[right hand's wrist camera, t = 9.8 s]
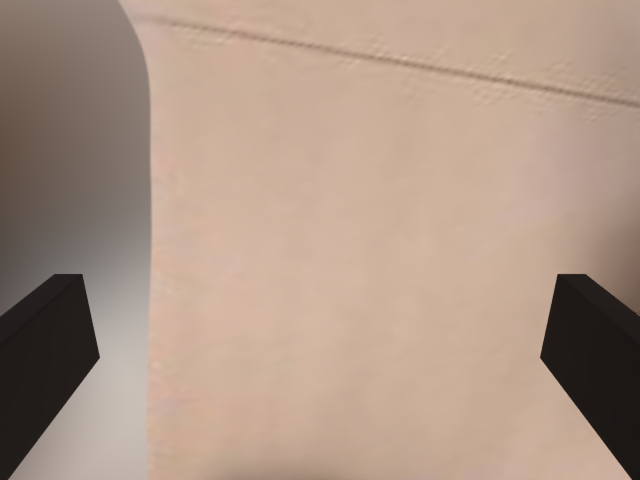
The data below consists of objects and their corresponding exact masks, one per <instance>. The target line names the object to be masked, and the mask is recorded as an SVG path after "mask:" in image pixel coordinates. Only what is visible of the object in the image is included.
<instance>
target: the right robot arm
mask: <svg viewBox="0 0 640 480" xmlns="http://www.w3.org/2000/svg"><path fill="white" fill-rule="evenodd" d="M99 358H100V356H99V351H98V346H97V342H96V337H95V332H94V327H93V323H92V318H91V313H90V308H89V304H88V299H87V294H86V290H85V285H84V280H83V275H82V274H54V275H53V276H51V277H50V278H49V279H48V280H46V281H45V282H44V283H43V284H41V285H40V286H39V287H37V288H36V289H35V290H34V291H32V292H31V293H30V294H29V295H27V296H26V297H25V298H23V299H22V300H21V301H20V302H18V303H17V304H16V305H14V306H13V307H12V308H11V309H9V310H8V311H7V312H6V313H4V314H3V315H2V316H0V480H8V479H9V478H10V476H11V475H12V474H13V472H14V471H15V470H16V468H17V467H18V466H19V464H20V463H21V462H22V460H23V459H24V458H25V456H26V455H27V454H28V453H29V451H30V450H31V448H32V447H33V446H34V445H35V443H36V442H37V441H38V439H39V438H40V437H41V435H42V434H43V433H44V431H45V430H46V429H47V427H48V426H49V425H50V423H51V422H52V421H53V419H54V418H55V417H56V415H57V414H58V413H59V411H60V410H61V409H62V407H63V406H64V405H65V403H66V402H67V401H68V399H69V398H70V397H71V395H72V394H73V393H74V391H75V390H76V389H77V387H78V386H79V385H80V384H81V382H82V381H83V380H84V378H85V377H86V376H87V374H88V373H89V372H90V370H91V369H92V368H93V366H94V365H95V364H96V362H97V361H98V360H99ZM540 358H541V360H542V361H543V362H544V364H545V365H546V366H547V368H548V369H549V370H550V372H551V373H552V374H553V376H554V377H555V378H556V380H557V381H558V382H559V384H560V385H561V386H562V388H563V389H564V390H565V392H566V393H567V394H568V395H569V397H570V398H571V399H572V401H573V402H574V403H575V405H576V406H577V407H578V409H579V410H580V411H581V413H582V414H583V415H584V417H585V418H586V419H587V421H588V422H589V423H590V425H591V426H592V427H593V429H594V430H595V431H596V433H597V434H598V435H599V437H600V438H601V439H602V441H603V442H604V443H605V445H606V446H607V447H608V449H609V450H610V451H611V453H612V454H613V455H614V457H615V458H616V459H617V460H618V462H619V463H620V464H621V466H622V467H623V468H624V470H625V471H626V472H627V474H628V475H629V476H630V478H631V479H632V480H640V316H638V315H637V314H636V313H634V312H633V311H632V310H631V309H629V308H628V307H627V306H626V305H624V304H623V303H622V302H620V301H619V300H618V299H617V298H615V297H614V296H613V295H611V294H610V293H609V292H608V291H606V290H605V289H604V288H603V287H601V286H600V285H599V284H597V283H596V282H595V281H594V280H592V279H591V278H590V277H589V276H587V275H586V274H558V275H557V280H556V285H555V289H554V294H553V299H552V304H551V308H550V313H549V318H548V323H547V327H546V332H545V337H544V341H543V346H542V351H541V356H540Z"/></svg>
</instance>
